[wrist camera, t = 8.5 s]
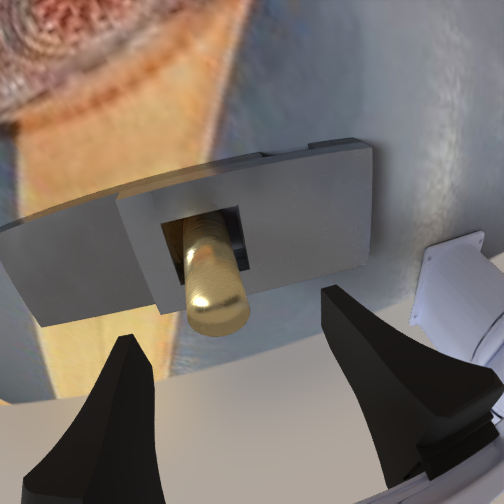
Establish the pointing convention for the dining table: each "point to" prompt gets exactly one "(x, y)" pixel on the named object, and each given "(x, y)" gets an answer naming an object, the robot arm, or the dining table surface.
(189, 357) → the dining table surface
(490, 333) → the robot arm
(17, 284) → the link
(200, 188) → the link
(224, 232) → the pin
